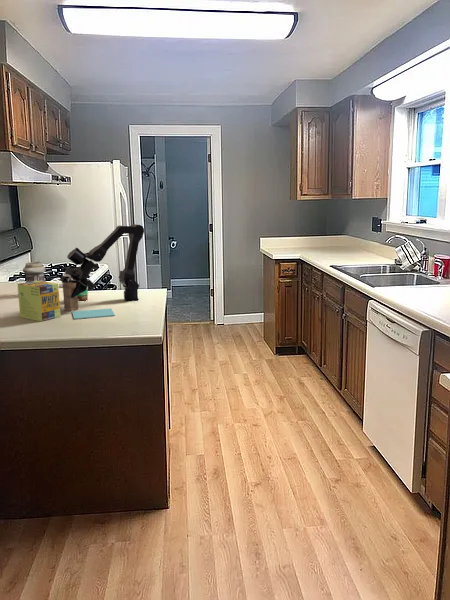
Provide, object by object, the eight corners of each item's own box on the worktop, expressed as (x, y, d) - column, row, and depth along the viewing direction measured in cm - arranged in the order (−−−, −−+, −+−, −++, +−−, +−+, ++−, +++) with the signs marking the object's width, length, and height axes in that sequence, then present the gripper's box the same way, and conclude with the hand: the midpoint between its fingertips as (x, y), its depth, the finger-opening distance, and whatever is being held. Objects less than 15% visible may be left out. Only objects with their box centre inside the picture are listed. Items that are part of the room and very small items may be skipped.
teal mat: (111, 309, 244) (110, 308, 244) (114, 315, 231) (114, 314, 231) (72, 312, 238) (72, 311, 238) (74, 319, 225) (73, 318, 225)
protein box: (42, 321, 222) (39, 287, 218) (19, 317, 230) (16, 283, 226) (61, 316, 230) (58, 283, 227) (39, 312, 238) (36, 280, 235)
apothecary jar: (20, 296, 277) (17, 263, 273) (35, 292, 288) (33, 260, 284) (37, 297, 272) (34, 264, 268) (52, 293, 283) (50, 261, 279)
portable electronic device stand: (59, 287, 301) (58, 273, 300) (68, 285, 308) (67, 271, 307) (70, 288, 298) (69, 274, 296) (79, 286, 305) (78, 272, 303)
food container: (83, 303, 258) (81, 284, 256) (72, 302, 259) (70, 283, 257) (94, 298, 270) (92, 279, 268) (83, 298, 271) (82, 279, 269)
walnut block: (71, 308, 247) (70, 282, 244) (78, 309, 244) (76, 282, 242) (64, 310, 243) (62, 283, 240) (70, 311, 241) (69, 284, 238)
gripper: (61, 259, 247) (44, 285, 240) (88, 262, 237) (71, 289, 230) (75, 273, 255) (59, 298, 248) (101, 276, 245) (85, 302, 239)
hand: (68, 296), depth 241 cm, fingers closed on walnut block, 4 cm apart
